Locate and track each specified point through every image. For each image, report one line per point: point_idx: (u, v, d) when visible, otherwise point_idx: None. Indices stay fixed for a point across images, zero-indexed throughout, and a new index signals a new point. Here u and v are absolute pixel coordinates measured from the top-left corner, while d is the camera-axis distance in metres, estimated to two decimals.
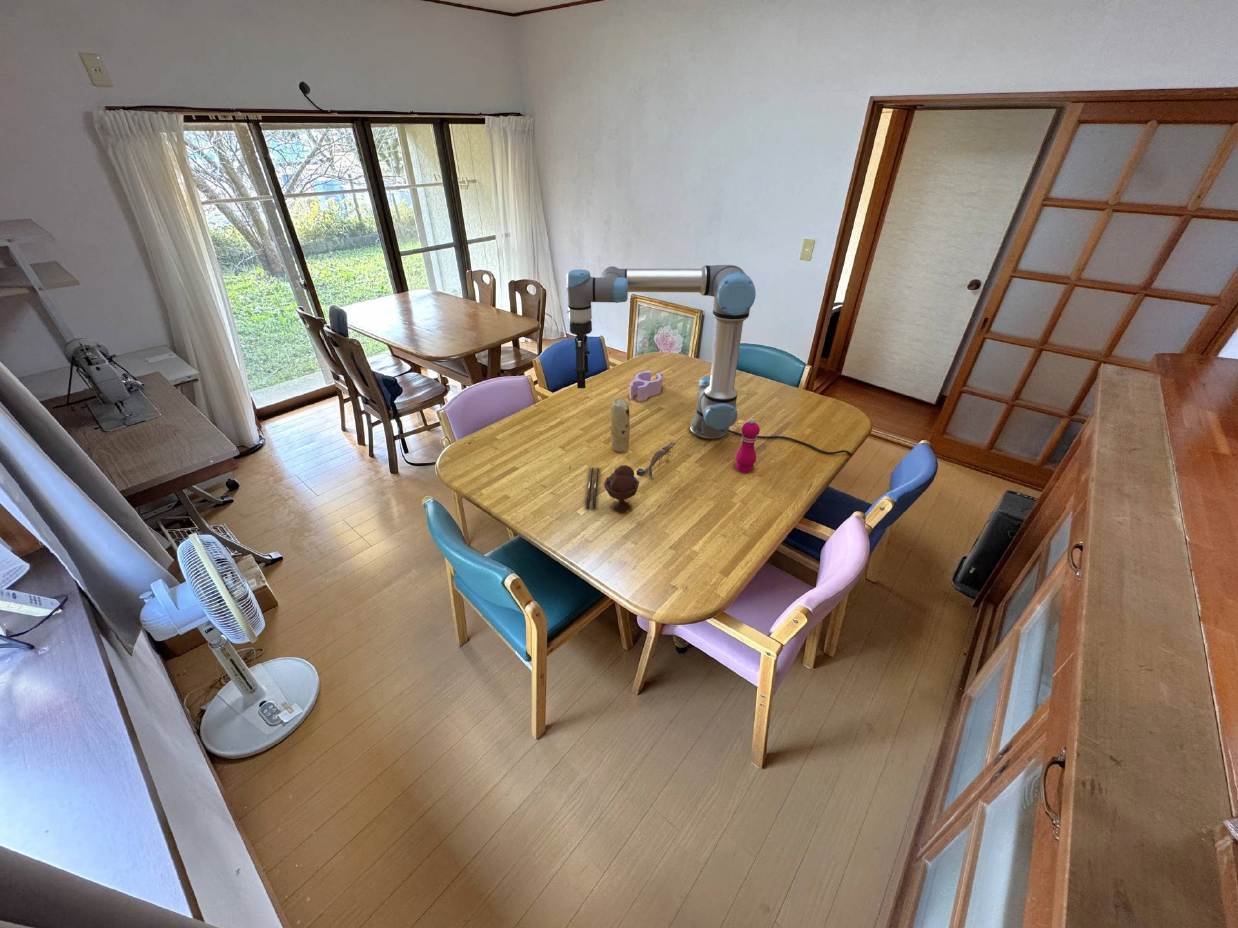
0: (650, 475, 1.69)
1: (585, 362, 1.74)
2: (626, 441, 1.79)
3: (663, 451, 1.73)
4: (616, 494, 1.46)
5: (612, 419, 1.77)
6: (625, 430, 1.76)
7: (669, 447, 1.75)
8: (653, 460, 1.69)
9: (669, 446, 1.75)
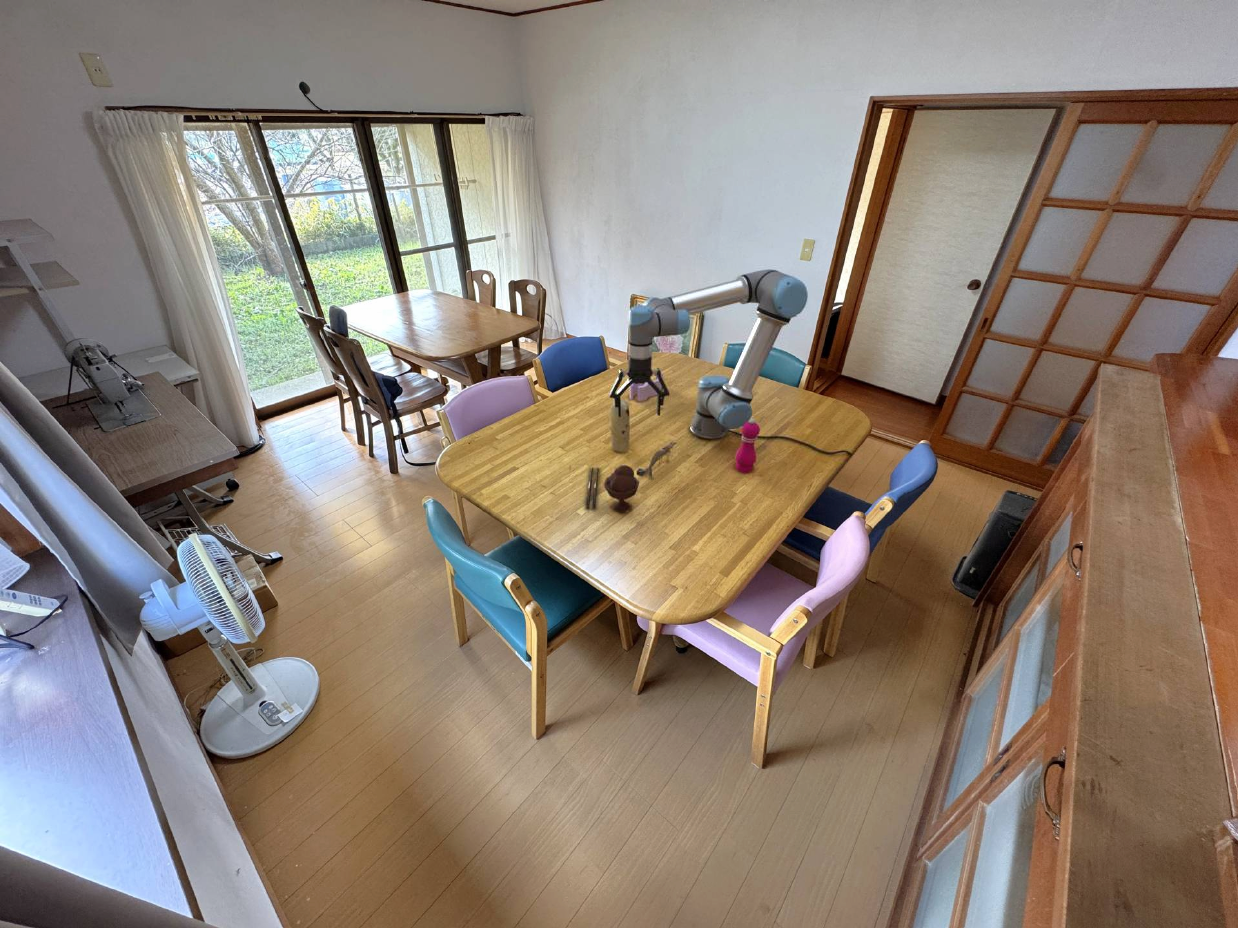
0: (650, 475, 1.69)
1: (658, 404, 1.65)
2: (626, 441, 1.79)
3: (663, 451, 1.73)
4: (616, 494, 1.46)
5: (612, 419, 1.77)
6: (625, 430, 1.76)
7: (669, 447, 1.75)
8: (653, 460, 1.69)
9: (669, 446, 1.75)
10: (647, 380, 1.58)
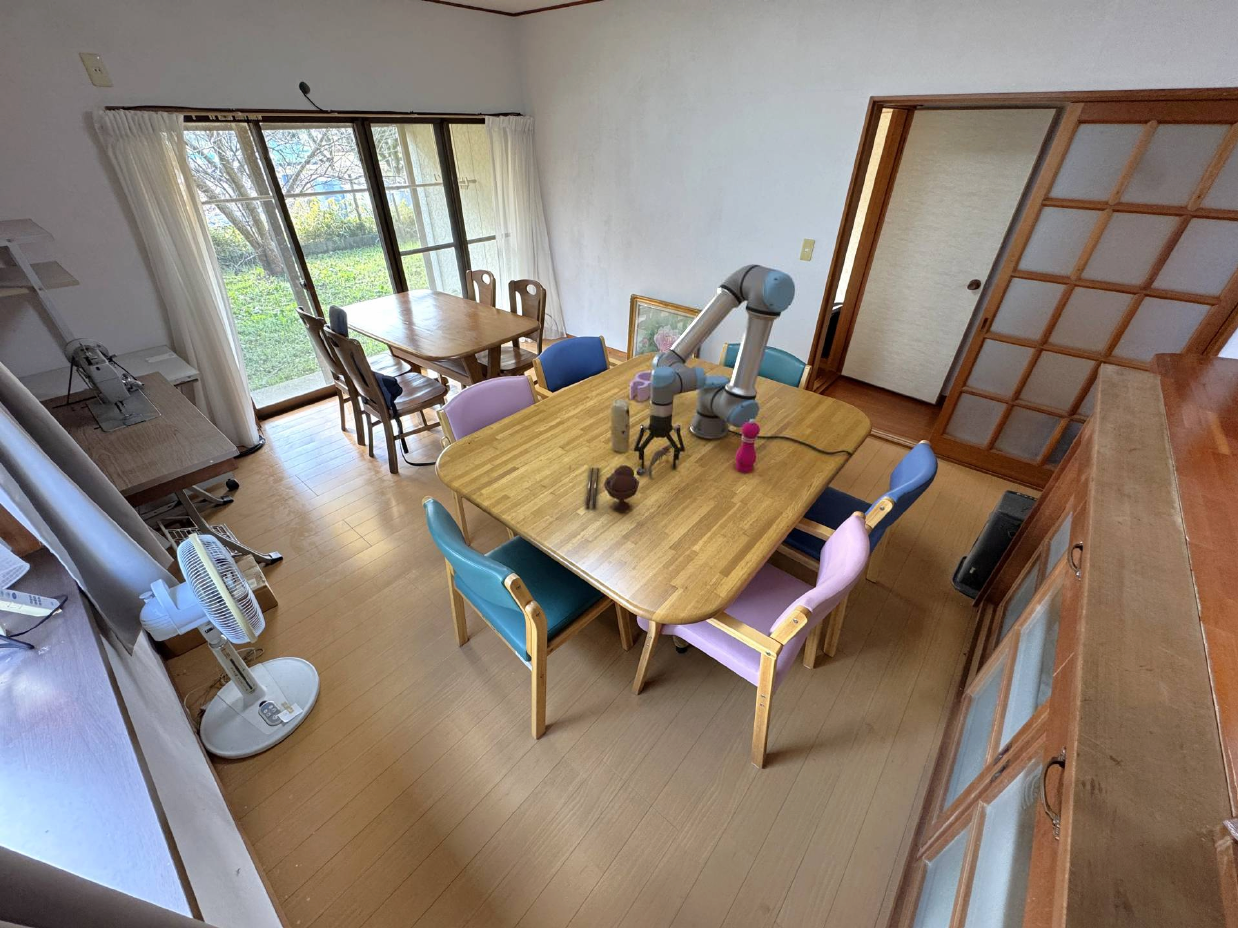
0: (650, 475, 1.69)
1: (673, 458, 1.72)
2: (626, 441, 1.79)
3: (663, 451, 1.73)
4: (616, 494, 1.46)
5: (612, 419, 1.77)
6: (625, 430, 1.76)
7: (669, 447, 1.75)
8: (653, 460, 1.69)
9: (669, 446, 1.75)
10: (666, 435, 1.65)
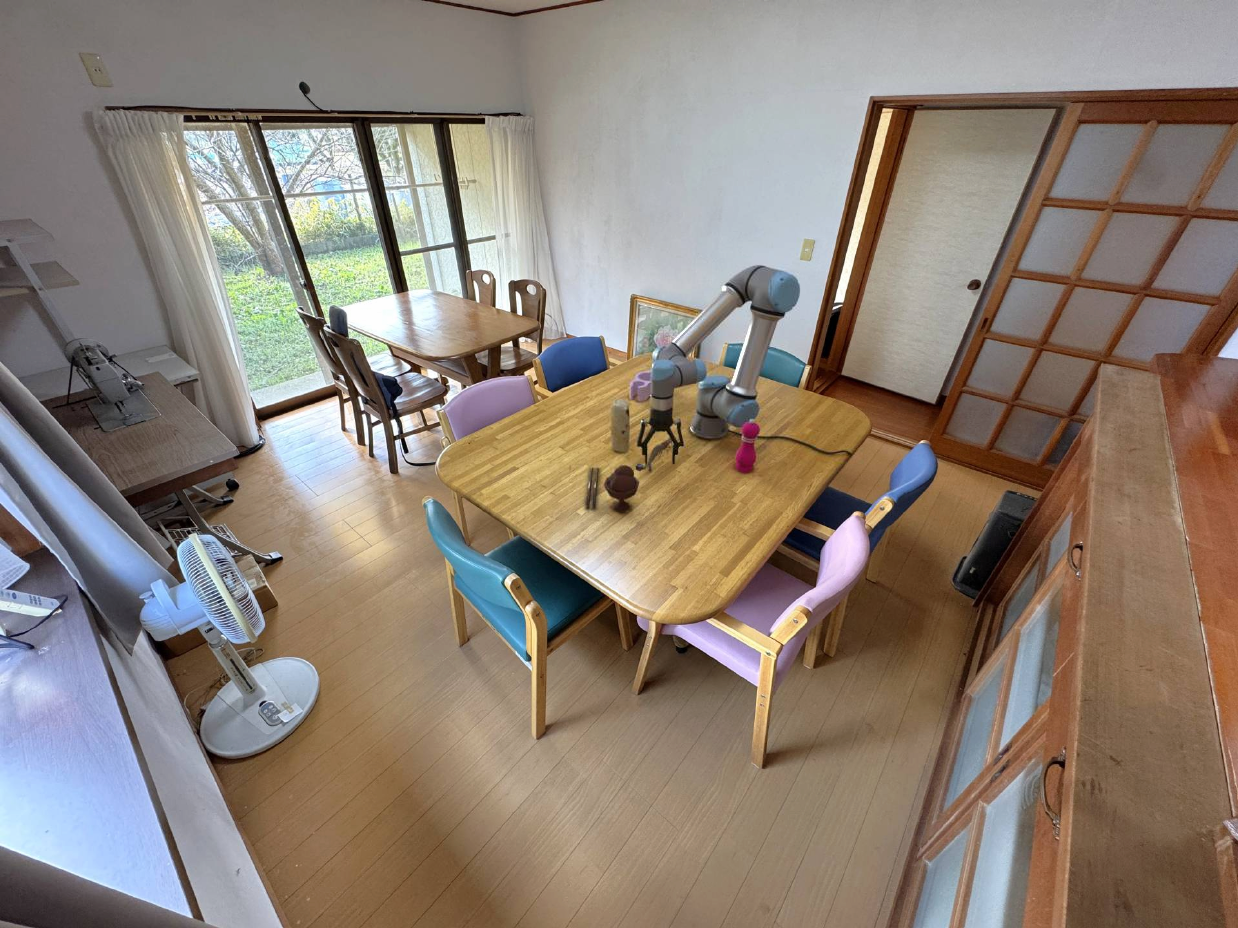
0: (650, 470, 1.68)
1: (672, 453, 1.71)
2: (626, 441, 1.79)
3: (662, 446, 1.72)
4: (616, 494, 1.46)
5: (612, 419, 1.77)
6: (625, 430, 1.76)
7: (668, 442, 1.74)
8: (652, 455, 1.68)
9: (668, 441, 1.75)
10: (667, 429, 1.64)
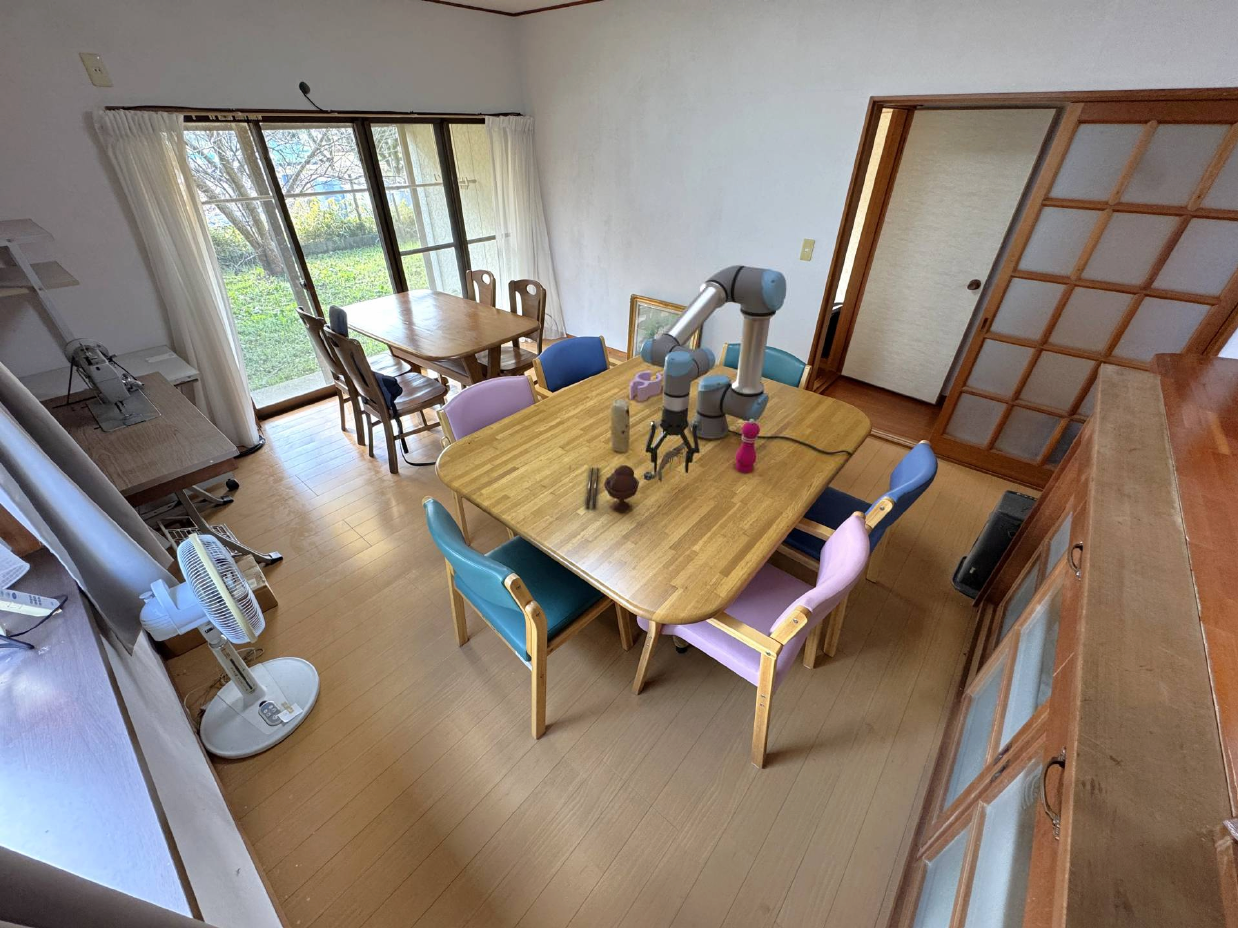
0: (660, 480, 1.45)
1: (686, 461, 1.48)
2: (626, 441, 1.79)
3: (674, 452, 1.49)
4: (616, 494, 1.46)
5: (612, 419, 1.77)
6: (625, 430, 1.76)
7: (681, 447, 1.52)
8: (663, 462, 1.46)
9: (681, 446, 1.52)
10: (681, 433, 1.42)
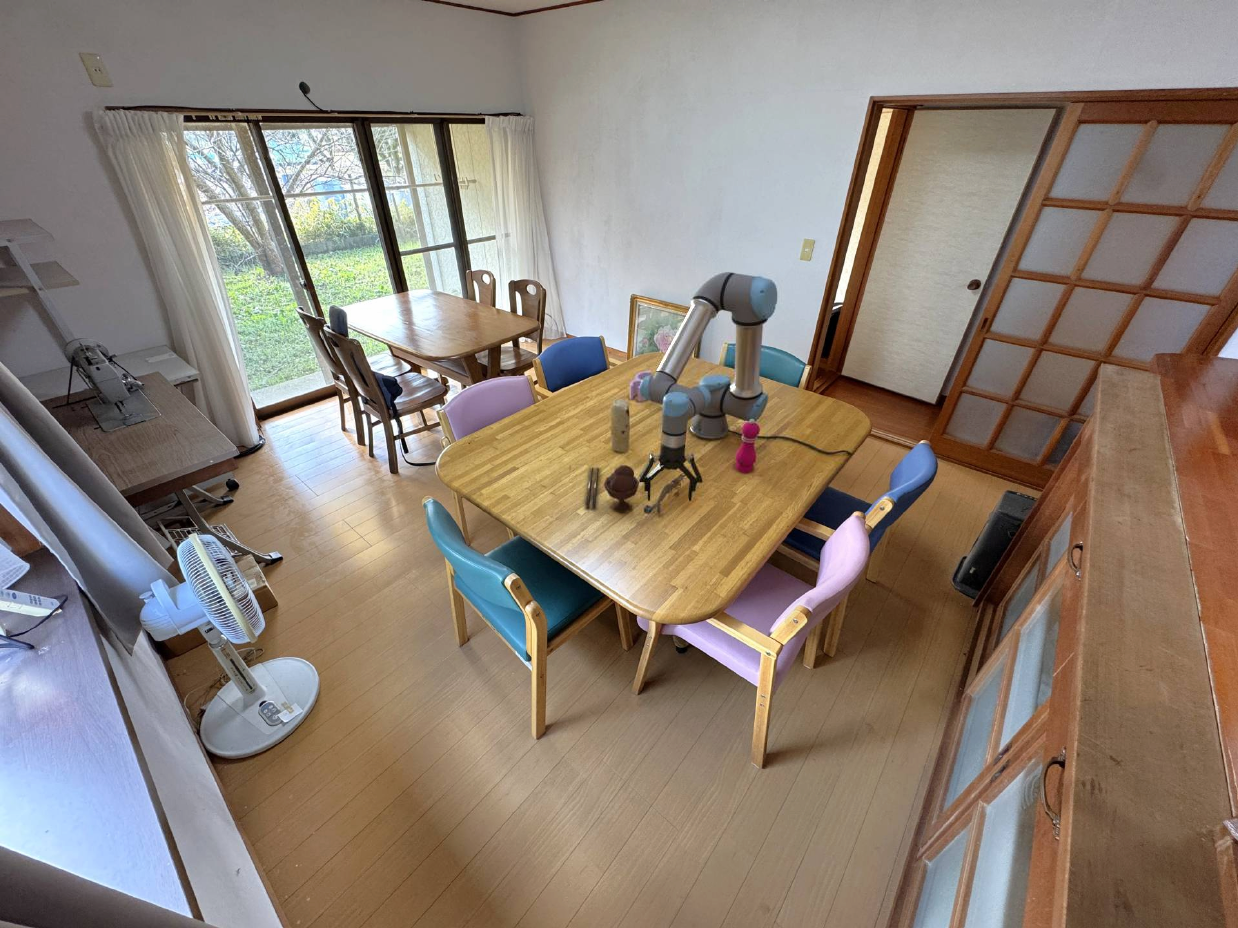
0: None
1: (689, 489, 1.54)
2: (626, 441, 1.79)
3: (673, 484, 1.56)
4: (616, 494, 1.46)
5: (612, 419, 1.77)
6: (625, 430, 1.76)
7: (679, 479, 1.58)
8: (662, 495, 1.52)
9: (679, 478, 1.59)
10: (679, 467, 1.48)
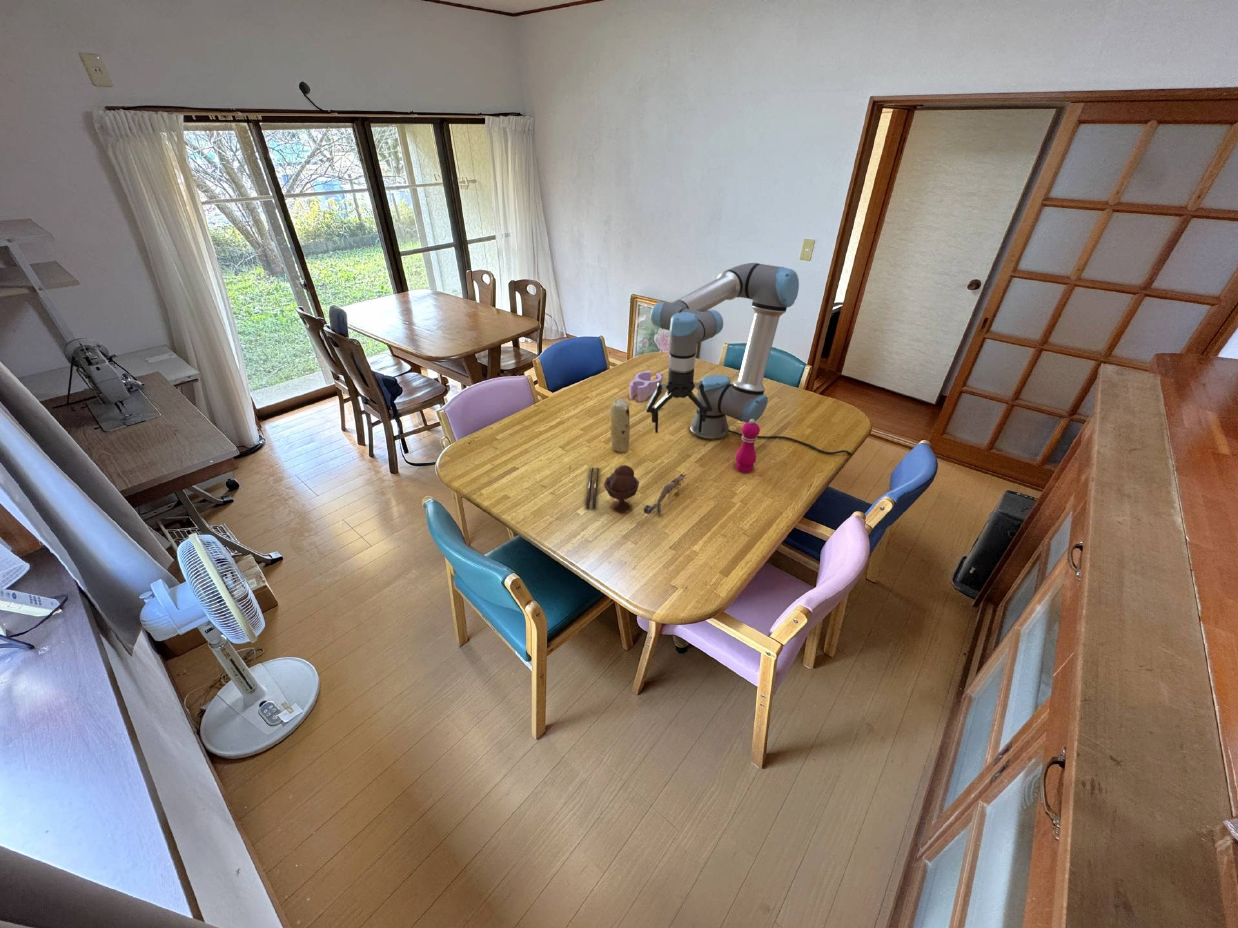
0: None
1: (699, 420, 1.50)
2: (626, 441, 1.79)
3: (673, 484, 1.56)
4: (616, 494, 1.46)
5: (612, 419, 1.77)
6: (625, 430, 1.76)
7: (679, 479, 1.58)
8: (662, 495, 1.52)
9: (680, 478, 1.59)
10: (688, 394, 1.44)
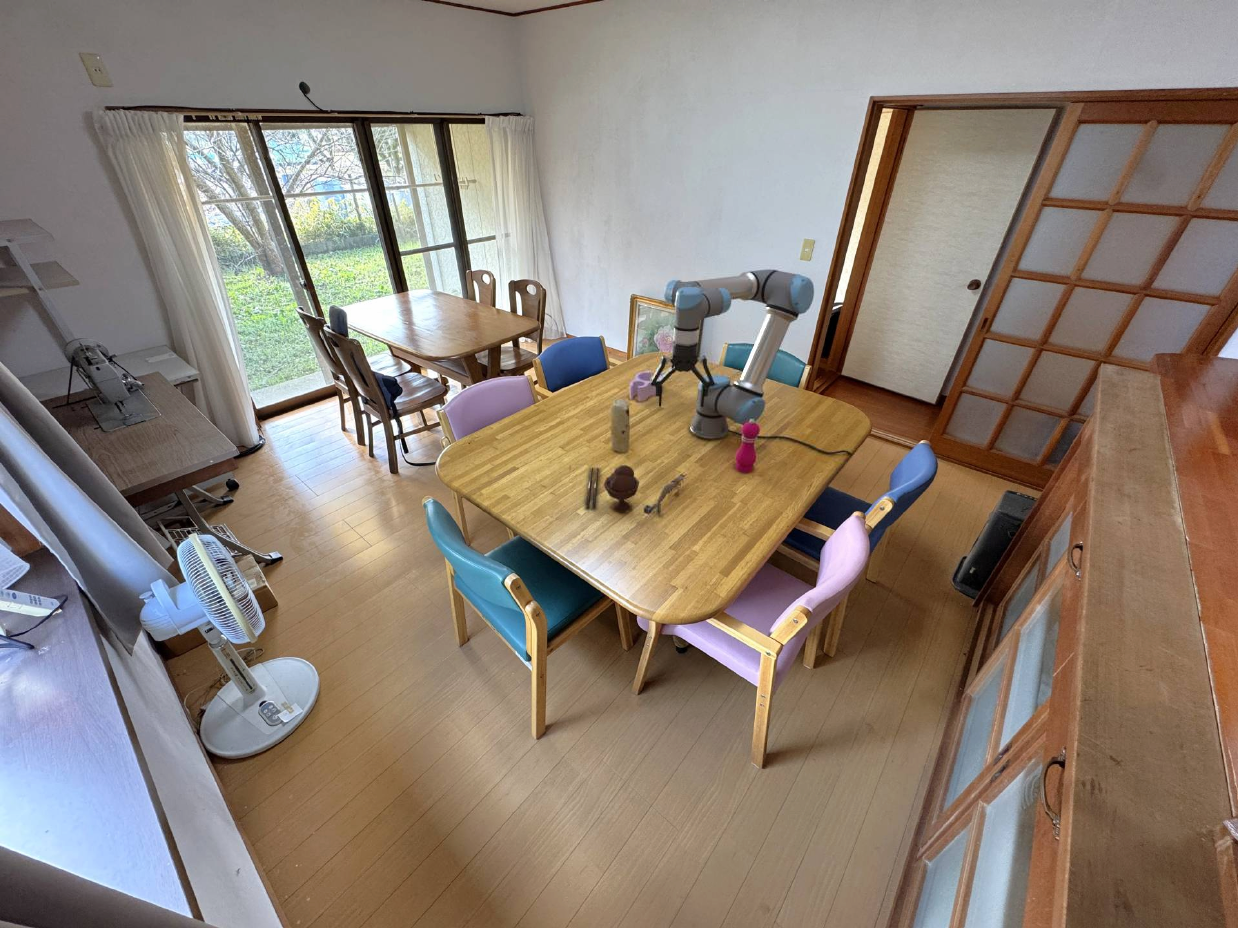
0: None
1: (701, 394, 1.54)
2: (626, 441, 1.79)
3: (673, 484, 1.56)
4: (616, 494, 1.46)
5: (612, 419, 1.77)
6: (625, 430, 1.76)
7: (679, 479, 1.58)
8: (662, 495, 1.52)
9: (680, 478, 1.59)
10: (691, 368, 1.48)
